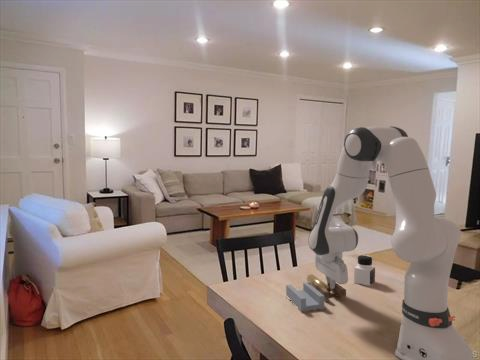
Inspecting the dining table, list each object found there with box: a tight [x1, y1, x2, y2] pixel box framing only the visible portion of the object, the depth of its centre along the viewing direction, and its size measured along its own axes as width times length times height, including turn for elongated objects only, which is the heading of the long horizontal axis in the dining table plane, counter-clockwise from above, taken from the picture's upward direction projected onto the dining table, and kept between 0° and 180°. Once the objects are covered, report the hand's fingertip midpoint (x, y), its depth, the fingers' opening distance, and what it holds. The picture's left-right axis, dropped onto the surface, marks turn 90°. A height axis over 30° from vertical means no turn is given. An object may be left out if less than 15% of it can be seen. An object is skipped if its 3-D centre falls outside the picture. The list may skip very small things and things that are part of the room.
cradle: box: [285, 282, 325, 312], centre depth 136 cm, size 14×10×5 cm
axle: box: [306, 274, 332, 294], centre depth 150 cm, size 14×4×4 cm, turn 15°
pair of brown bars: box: [311, 281, 347, 303], centre depth 143 cm, size 12×9×4 cm
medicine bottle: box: [353, 254, 376, 287], centre depth 156 cm, size 7×7×12 cm
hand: (330, 287), depth 141 cm, fingers closed
